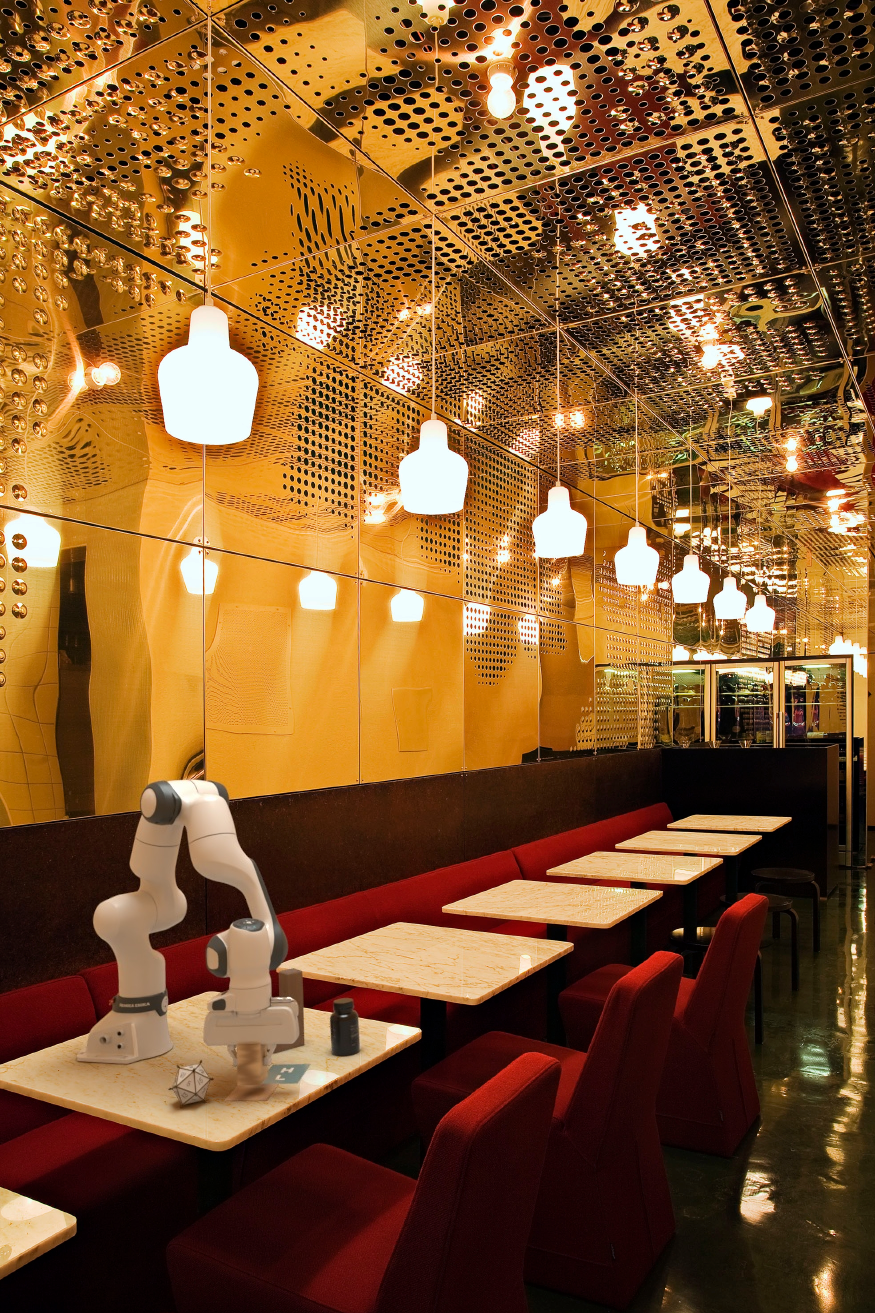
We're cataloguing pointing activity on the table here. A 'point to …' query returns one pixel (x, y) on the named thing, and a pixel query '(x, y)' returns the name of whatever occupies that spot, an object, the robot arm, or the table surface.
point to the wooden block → (292, 988)
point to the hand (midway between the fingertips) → (252, 1065)
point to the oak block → (251, 1064)
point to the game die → (191, 1084)
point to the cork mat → (252, 1092)
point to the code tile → (285, 1073)
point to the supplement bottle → (344, 1028)
